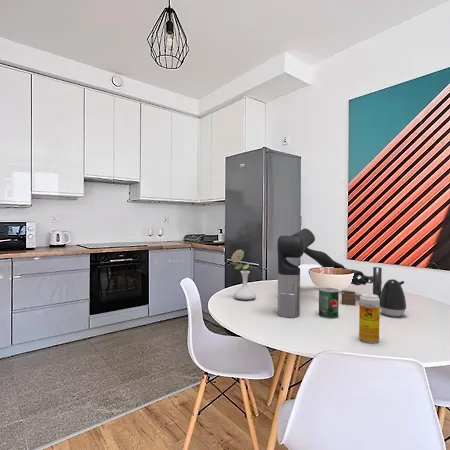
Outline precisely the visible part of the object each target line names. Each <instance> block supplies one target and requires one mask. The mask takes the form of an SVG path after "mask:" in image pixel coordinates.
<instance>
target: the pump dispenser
mask: <svg viewBox="0 0 450 450" xmlns="http://www.w3.org/2000/svg"><path fill="white" fill-rule="evenodd" d="M403 284H405V281H404V280H402V281H398V280H397V279H394V278H393V279H392V278H391V279H388V280H386V282H385V283H384V285H383V287H382V288H381V295H380V312H382V313H383V314H385V315H386V316H388V317H393V318H398V317H401V316H403V315H404V314H405V311H406V309H407V301H406V295H405V292H404V289H403V287H402V285H403Z"/></svg>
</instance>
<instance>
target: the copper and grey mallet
mask: <svg viewBox="0 0 450 450" xmlns="http://www.w3.org/2000/svg"><path fill="white" fill-rule="evenodd" d="M382 269H383V267H380V266H373V267H372V276H373V283H372V294H374V295H377V296H379V299H380V295H381V292H382V284H381V282H383V280H382V277H383V276H382V275H383V274H382ZM360 296H361V294H358V298H357V299H358V302H360Z"/></svg>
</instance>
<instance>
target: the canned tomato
mask: <svg viewBox="0 0 450 450" xmlns="http://www.w3.org/2000/svg"><path fill="white" fill-rule="evenodd" d="M339 292H340V291H339V289H338V288H333V287H319V289H318V316H319V317H321V318H323V319H330V320H331V319H332V320H334V319H335V320H336V319H338V318H339V305H340V303H339V300H340V299H339V297H340V296H339V294H340V293H339Z"/></svg>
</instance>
